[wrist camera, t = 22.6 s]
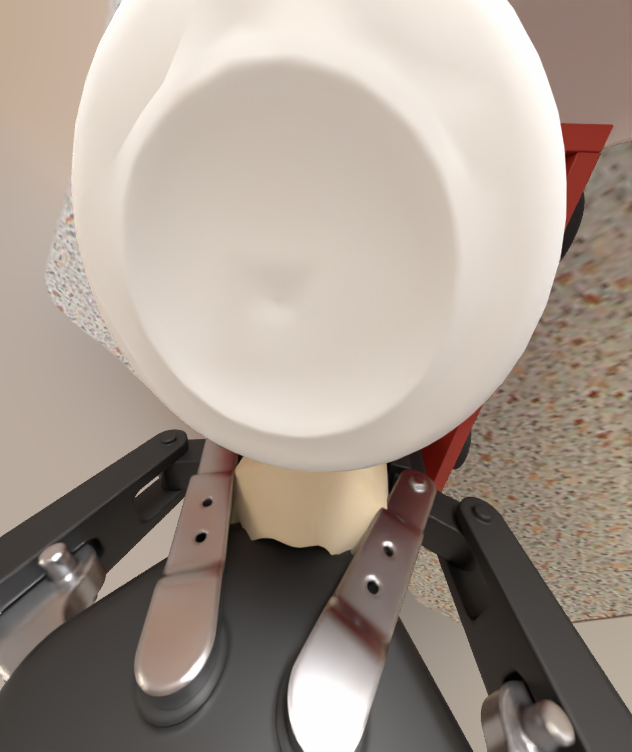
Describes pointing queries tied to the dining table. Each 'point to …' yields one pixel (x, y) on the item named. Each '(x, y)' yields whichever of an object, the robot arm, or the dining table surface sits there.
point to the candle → (308, 504)
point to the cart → (579, 163)
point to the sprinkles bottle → (319, 215)
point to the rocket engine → (585, 59)
